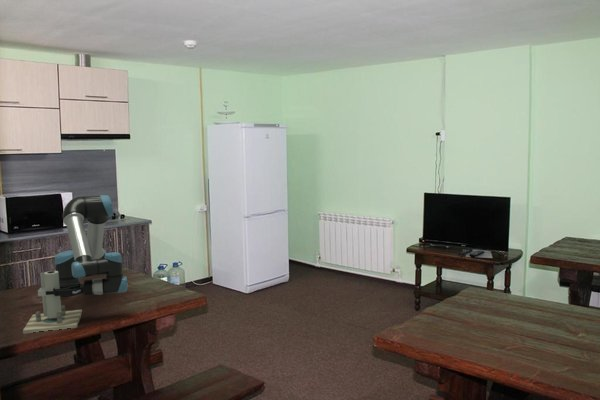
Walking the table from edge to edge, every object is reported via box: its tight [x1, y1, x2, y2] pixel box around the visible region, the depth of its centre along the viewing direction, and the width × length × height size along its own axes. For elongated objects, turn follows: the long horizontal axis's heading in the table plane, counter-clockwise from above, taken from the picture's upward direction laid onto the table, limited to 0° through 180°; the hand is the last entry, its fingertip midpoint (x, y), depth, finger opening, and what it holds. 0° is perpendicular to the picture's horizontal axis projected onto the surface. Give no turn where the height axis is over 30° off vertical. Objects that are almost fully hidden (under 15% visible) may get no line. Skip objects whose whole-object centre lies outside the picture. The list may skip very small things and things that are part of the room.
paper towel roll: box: [39, 270, 62, 318], centre depth 237 cm, size 7×6×21 cm
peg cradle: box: [22, 304, 83, 335], centre depth 238 cm, size 22×22×6 cm
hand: (39, 292), depth 234 cm, fingers closed on paper towel roll, 3 cm apart
